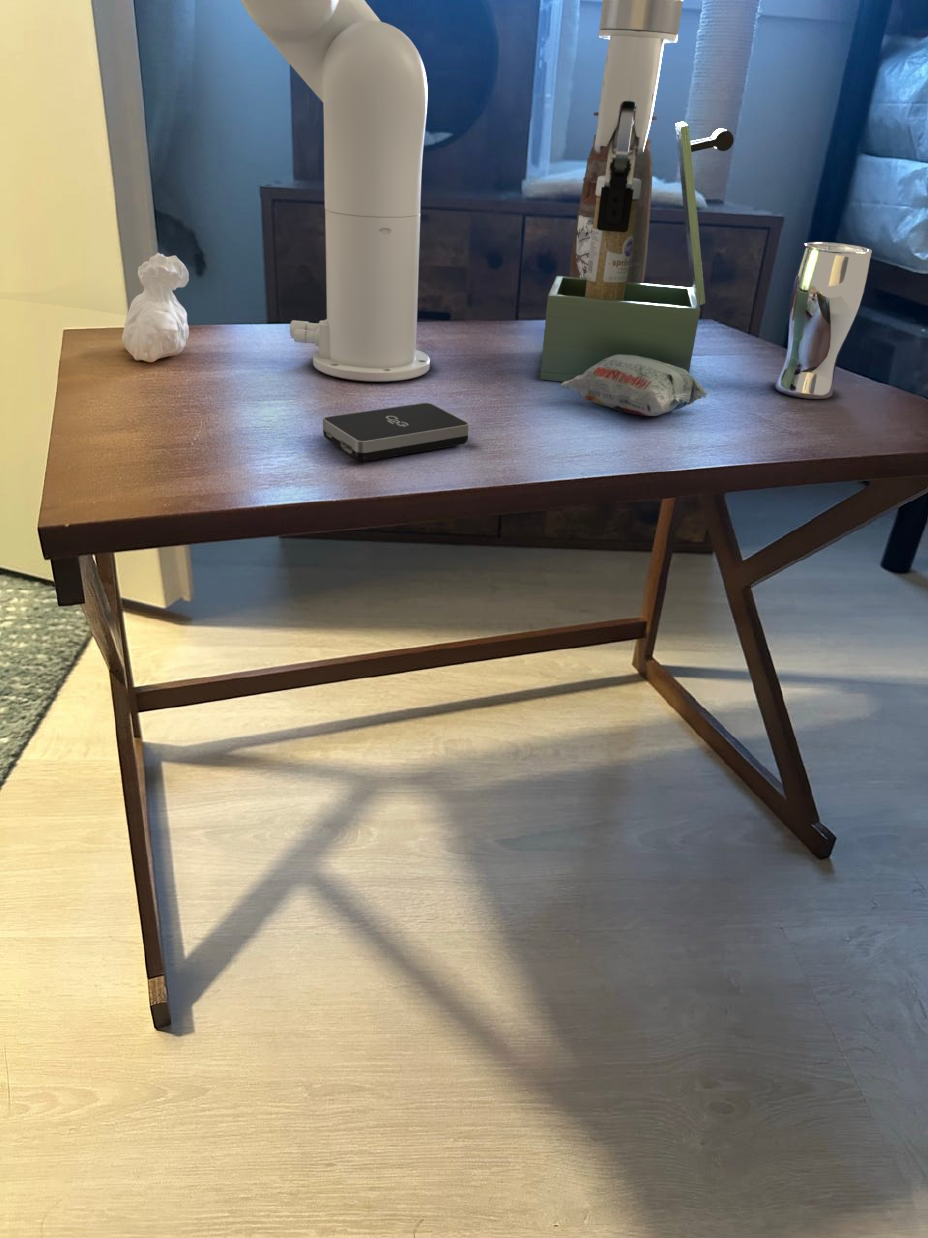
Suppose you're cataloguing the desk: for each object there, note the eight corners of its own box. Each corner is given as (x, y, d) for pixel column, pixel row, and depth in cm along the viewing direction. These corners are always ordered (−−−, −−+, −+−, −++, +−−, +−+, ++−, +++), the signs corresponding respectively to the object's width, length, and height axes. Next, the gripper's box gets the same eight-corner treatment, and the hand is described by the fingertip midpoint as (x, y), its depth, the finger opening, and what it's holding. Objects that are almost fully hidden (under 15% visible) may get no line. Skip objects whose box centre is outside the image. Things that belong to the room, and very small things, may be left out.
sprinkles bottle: (619, 318, 99) (638, 179, 92) (577, 312, 100) (594, 175, 93) (625, 310, 103) (645, 177, 96) (585, 305, 104) (601, 173, 97)
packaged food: (660, 433, 86) (669, 380, 84) (557, 403, 93) (563, 353, 90) (704, 416, 92) (714, 366, 90) (605, 389, 99) (611, 342, 96)
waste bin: (539, 379, 100) (548, 295, 96) (548, 352, 111) (556, 275, 106) (685, 394, 99) (700, 309, 94) (680, 365, 109) (694, 287, 104)
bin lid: (680, 126, 87) (735, 113, 85) (675, 123, 97) (724, 111, 96) (697, 305, 94) (748, 295, 93) (691, 284, 104) (736, 275, 103)
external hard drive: (320, 440, 80) (320, 417, 78) (429, 423, 85) (430, 401, 84) (359, 466, 75) (359, 442, 74) (471, 446, 80) (473, 424, 79)
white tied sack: (173, 389, 96) (233, 299, 95) (106, 348, 92) (168, 251, 90) (153, 360, 106) (208, 277, 104) (92, 320, 101) (148, 232, 99)
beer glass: (846, 393, 103) (885, 249, 95) (819, 404, 98) (857, 254, 91) (788, 378, 107) (820, 239, 99) (759, 389, 102) (791, 244, 94)
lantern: (588, 352, 112) (632, 6, 94) (532, 321, 125) (561, 12, 107) (666, 349, 115) (722, 16, 98) (603, 319, 128) (643, 20, 111)
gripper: (603, 25, 96) (581, 215, 105) (597, 12, 81) (572, 234, 90) (676, 29, 95) (647, 221, 104) (683, 17, 80) (649, 241, 90)
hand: (612, 225), depth 97 cm, fingers closed on sprinkles bottle, 4 cm apart
